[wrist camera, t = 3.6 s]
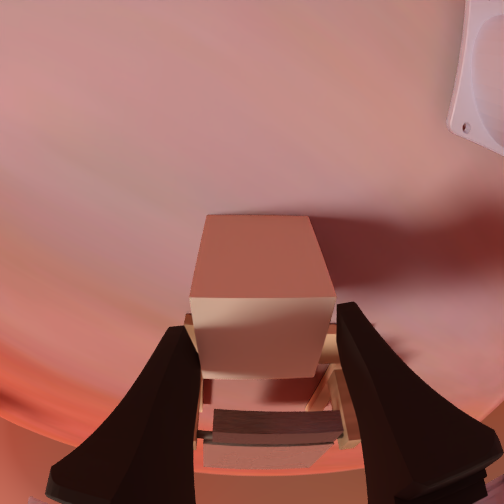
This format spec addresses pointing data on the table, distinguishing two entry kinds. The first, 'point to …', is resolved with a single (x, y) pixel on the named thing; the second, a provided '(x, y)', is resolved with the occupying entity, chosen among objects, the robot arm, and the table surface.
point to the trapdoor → (270, 438)
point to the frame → (327, 390)
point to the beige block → (260, 298)
